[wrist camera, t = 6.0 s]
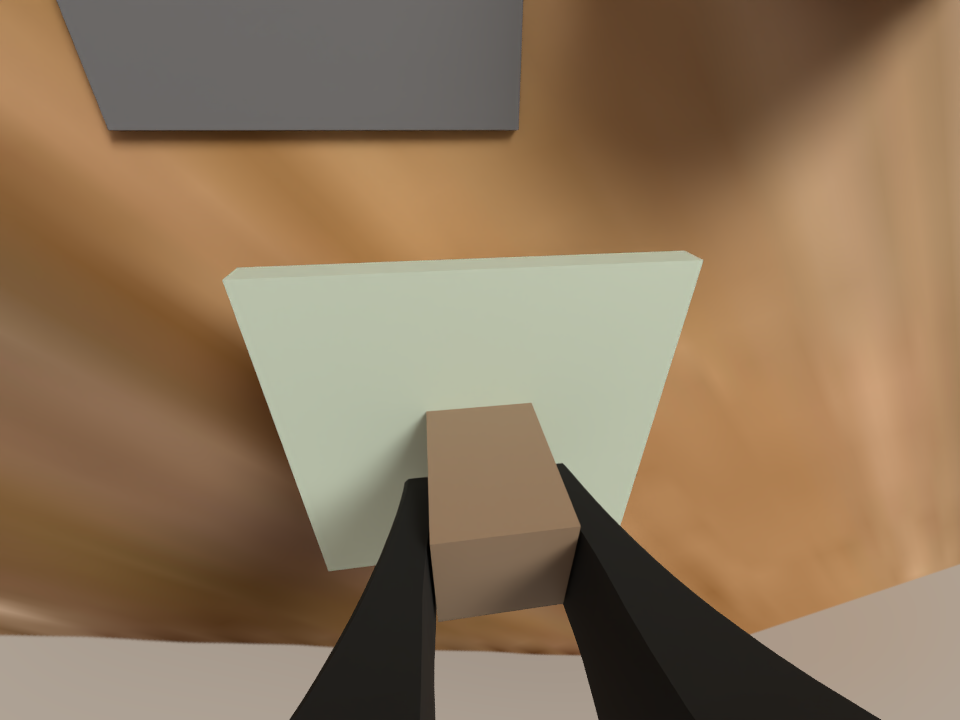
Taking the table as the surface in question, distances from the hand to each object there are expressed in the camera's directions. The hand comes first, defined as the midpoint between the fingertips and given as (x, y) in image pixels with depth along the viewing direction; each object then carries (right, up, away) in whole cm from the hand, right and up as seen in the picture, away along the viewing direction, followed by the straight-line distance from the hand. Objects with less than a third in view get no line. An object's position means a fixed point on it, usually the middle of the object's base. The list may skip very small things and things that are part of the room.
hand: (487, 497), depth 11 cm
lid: (0, +2, +2) cm, 2 cm away
